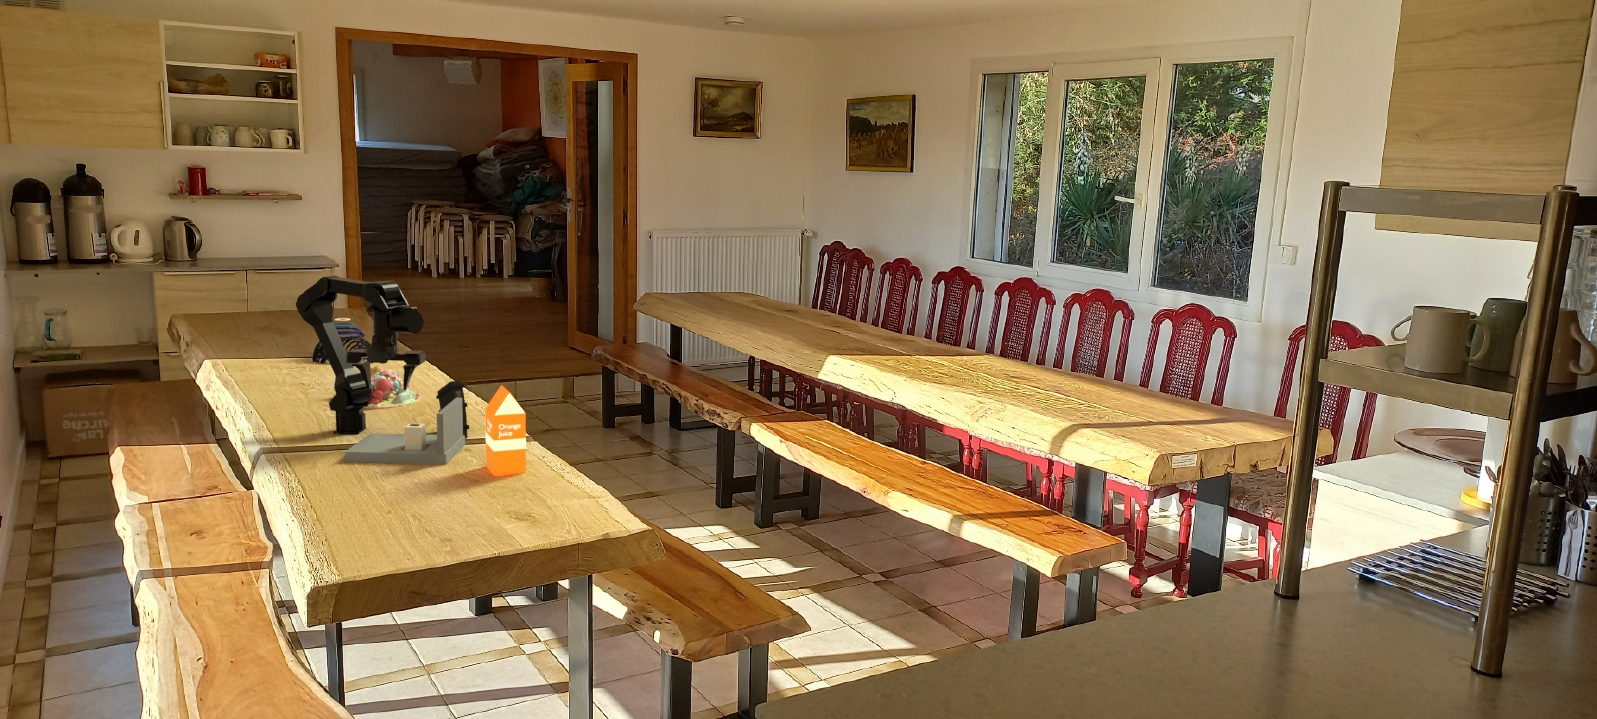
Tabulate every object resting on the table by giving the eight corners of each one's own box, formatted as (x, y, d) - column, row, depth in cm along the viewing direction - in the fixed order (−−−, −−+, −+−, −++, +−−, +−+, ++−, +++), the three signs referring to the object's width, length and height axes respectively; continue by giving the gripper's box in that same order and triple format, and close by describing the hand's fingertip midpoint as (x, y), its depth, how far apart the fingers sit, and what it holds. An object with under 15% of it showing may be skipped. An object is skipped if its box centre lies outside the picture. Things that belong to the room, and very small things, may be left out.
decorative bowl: (300, 362, 383) (298, 321, 380) (333, 352, 402) (332, 313, 400) (354, 366, 380) (352, 325, 377) (384, 356, 399) (383, 316, 397)
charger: (405, 458, 272) (404, 426, 271) (409, 454, 276) (409, 422, 275) (421, 459, 273) (420, 426, 271) (426, 454, 277) (425, 422, 275)
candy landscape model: (318, 402, 328) (317, 371, 326) (376, 388, 349) (375, 359, 347) (385, 412, 319) (384, 381, 317) (440, 397, 340) (439, 368, 338)
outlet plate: (345, 461, 268) (343, 411, 266) (370, 442, 286) (369, 395, 283) (446, 464, 269) (445, 414, 267) (465, 444, 287) (464, 397, 284)
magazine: (460, 436, 288) (449, 381, 291) (443, 447, 298) (432, 393, 301) (474, 434, 291) (463, 379, 293) (456, 445, 301) (446, 392, 303)
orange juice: (493, 476, 261) (492, 393, 258) (485, 466, 269) (484, 385, 265) (526, 472, 265) (526, 390, 261) (518, 463, 272) (517, 383, 269)
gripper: (336, 334, 277) (339, 395, 280) (412, 336, 278) (414, 397, 281) (352, 327, 288) (354, 386, 291) (425, 329, 289) (427, 388, 292)
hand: (387, 389), depth 288 cm, fingers open, 9 cm apart
